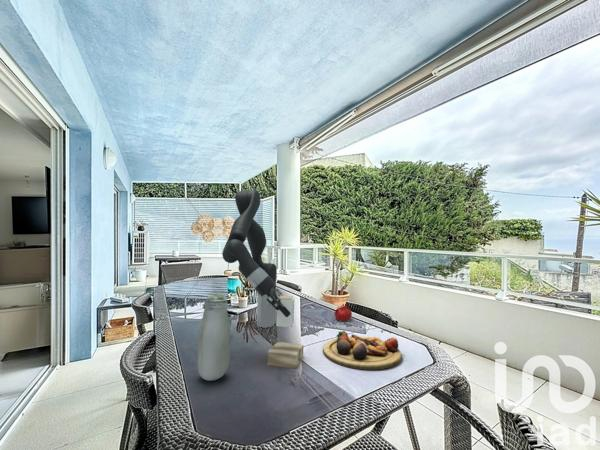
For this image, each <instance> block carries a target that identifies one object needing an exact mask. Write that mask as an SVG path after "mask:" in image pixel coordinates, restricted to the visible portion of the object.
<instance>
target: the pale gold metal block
mask: <svg viewBox="0 0 600 450" xmlns="http://www.w3.org/2000/svg"><path fill="white" fill-rule="evenodd" d="M303 357H304V344H301V343H299V344H298V343H292V342H291V343H290V342H283V341H277V342H276V343H275V344H274V345H273V346H272V347H271V348H270V349H269V350H268V351H267V365H268V366H269V365H270V366H274V367H281V368H288V369H294V370H296V369H297V367H298V366H299V364H300V363H301V361H302V360H303Z"/></svg>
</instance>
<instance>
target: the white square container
mask: <svg viewBox="0 0 600 450" xmlns="http://www.w3.org/2000/svg"><path fill="white" fill-rule="evenodd" d="M280 299H281V303H282V304H283V305H284V306H285V307H286V308H287V310H288V311H289V312H290V313H291V314H290V315H289V316H288V317H285V315H284V314H283V313H282V312H281V311H279V310H278V311H277V310H276V323H275V325H276V327H285V328H292V327H293V326H294V322H295V319H294V318H295V296H294V295H283V296H280ZM277 300H278V299H277ZM277 306H278V304H277Z"/></svg>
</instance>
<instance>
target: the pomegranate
mask: <svg viewBox="0 0 600 450" xmlns="http://www.w3.org/2000/svg"><path fill="white" fill-rule="evenodd" d="M352 315H353V313H352V310H351V309H349V307H347V306H346V305H345V303H343V304H341V305H340V306H337V307H336V310H335V311H334V317H335V320H337V321H338V320H341V321H340V322H343V321H346V322H349V321H350V320H351V319H352ZM348 320H349V321H348Z"/></svg>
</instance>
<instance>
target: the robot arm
mask: <svg viewBox="0 0 600 450" xmlns="http://www.w3.org/2000/svg"><path fill="white" fill-rule="evenodd" d="M234 195H235V197H234V199H235V204H236V208H237V211H238V214H239V216H238V217H237V218H236V219H235V220H234V222H232V223H233V224H232V225H231V228H230V232H229V236H228V239H227V240H226V243H225V244H224V247H223V249H222V254H221V255H222V258H223V260H224V261H225V262H226V263H228V264H233V263H236V262H237V261H238V262H237V263H238V271H239V272H240V274H241V275H242V277H244V278H245V279H246V280H247V282H248V283H249V285H250V286H251V287H252V288H253V289H254V291H256V293H257V304H256V305H257V307H256V326H257V327H258V328H261V327H262V328H263V329H266V328H267V329H268V327H269V328H272V326H273V327H274V326H275V325H276V318H277V311H278V310H279V311H281V312H282V313H283V314H284V315H285V317H288V316H289V315H290V314H291V313H290V312H289V311H288V310H287V308H286V307H285V306H284V305H283V304H282V303H281V299H280V296H284V294H283V293H282V292H281V291H280V289H278V288H276V287H277V273H278V270H277V266H276V264H275V263H271V262H270V263H269V262H263V259H262V258H263V257H262V255H263V253H264V251H265V249H266V246H267V239H266V238H267V237H266V234H265V231H264V228H263V226H261V225H260V224H259V223H258V222H257V221H256V220H255V219H254V218H255V216H256V214H257V212H258V210H259V208H260V205H261V201H262V200H261V195H260V192H259V190H257V189H248V190H247V189H245V190H239V191H237V192H236V193H235V194H234ZM245 241H247V244H248V248H249V249H248V248H247V246H246V245H245ZM249 250H250V251H249ZM277 299H278V300H277ZM277 304H278V306H277ZM274 324H275V325H274Z"/></svg>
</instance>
